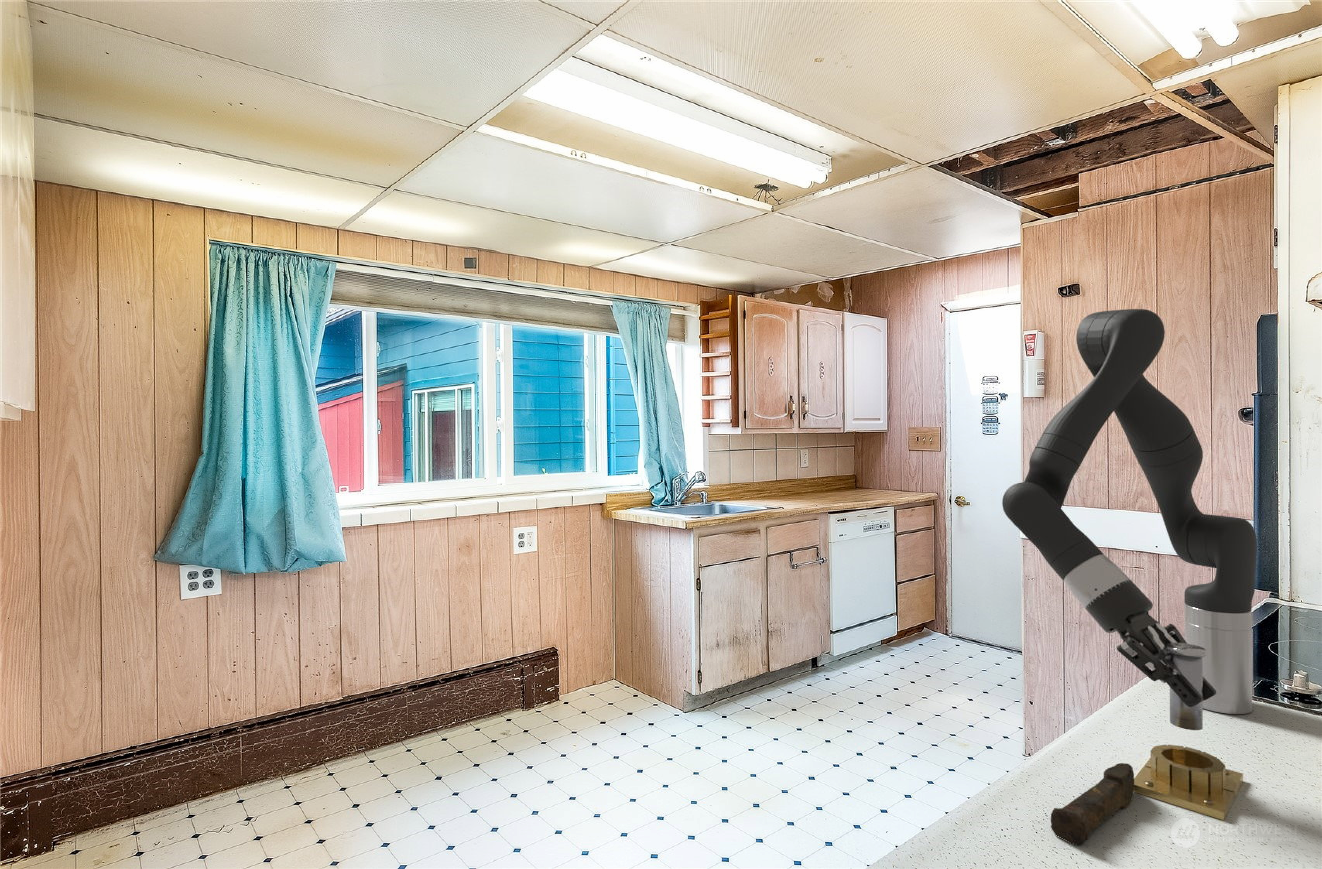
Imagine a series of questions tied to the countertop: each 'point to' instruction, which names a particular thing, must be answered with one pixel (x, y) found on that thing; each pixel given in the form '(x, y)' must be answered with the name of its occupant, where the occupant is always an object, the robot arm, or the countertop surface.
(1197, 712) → the hinge pin
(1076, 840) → the hand tool
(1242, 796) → the countertop surface
